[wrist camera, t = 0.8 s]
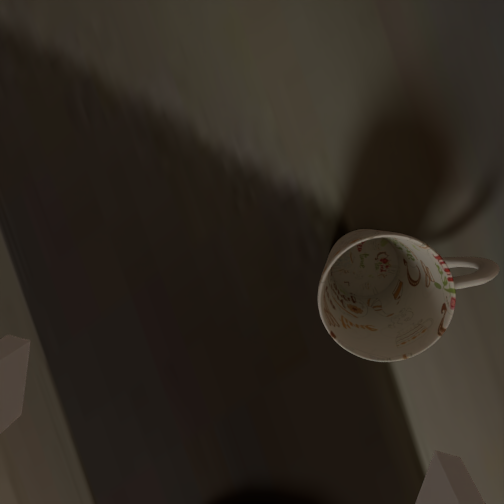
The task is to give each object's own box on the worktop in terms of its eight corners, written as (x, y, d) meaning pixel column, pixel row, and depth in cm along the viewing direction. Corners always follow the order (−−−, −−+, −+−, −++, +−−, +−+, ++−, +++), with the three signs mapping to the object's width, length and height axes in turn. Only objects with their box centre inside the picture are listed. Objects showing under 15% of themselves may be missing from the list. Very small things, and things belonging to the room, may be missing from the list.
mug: (305, 225, 36) (306, 247, 27) (461, 195, 34) (523, 206, 25) (323, 318, 38) (330, 371, 28) (473, 293, 36) (537, 341, 26)
